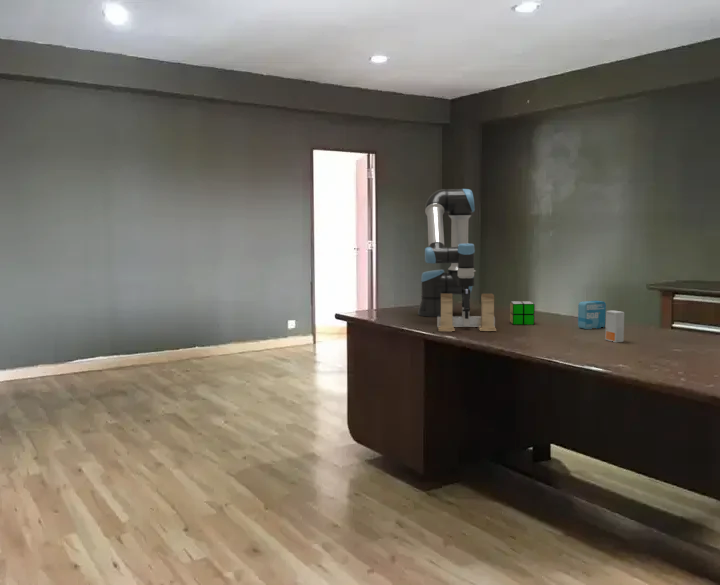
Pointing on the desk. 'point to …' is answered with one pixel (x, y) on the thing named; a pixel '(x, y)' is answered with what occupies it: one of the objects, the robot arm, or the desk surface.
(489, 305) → the post
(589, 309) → the data package
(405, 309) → the desk surface
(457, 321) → the rail
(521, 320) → the puzzle cube
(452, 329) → the post
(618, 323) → the skincare box
